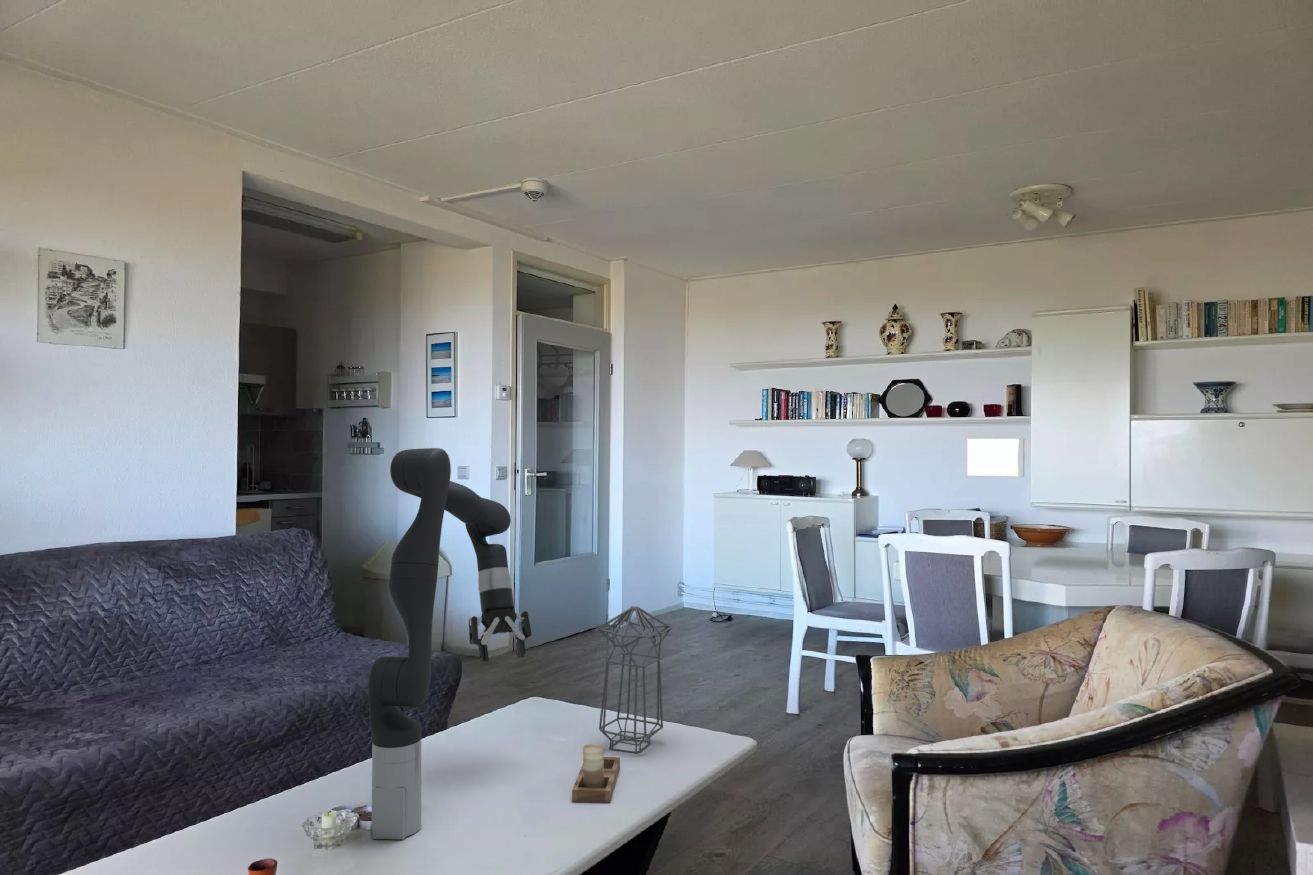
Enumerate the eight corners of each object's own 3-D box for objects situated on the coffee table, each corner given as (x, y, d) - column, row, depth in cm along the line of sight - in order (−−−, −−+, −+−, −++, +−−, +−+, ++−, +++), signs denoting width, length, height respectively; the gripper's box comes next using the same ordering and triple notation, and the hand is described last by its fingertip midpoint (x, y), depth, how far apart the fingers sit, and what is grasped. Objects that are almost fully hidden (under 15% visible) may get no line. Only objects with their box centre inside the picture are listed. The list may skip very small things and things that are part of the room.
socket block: (610, 802, 179) (610, 790, 179) (572, 802, 179) (572, 790, 179) (619, 768, 199) (619, 757, 199) (585, 767, 199) (585, 756, 199)
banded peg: (602, 798, 181) (602, 750, 181) (581, 797, 181) (581, 750, 182) (604, 790, 186) (604, 743, 186) (584, 789, 186) (584, 743, 186)
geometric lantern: (618, 733, 224) (621, 599, 225) (672, 743, 217) (676, 605, 218) (587, 751, 210) (591, 608, 211) (644, 762, 203) (648, 614, 204)
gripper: (471, 589, 193) (479, 662, 188) (529, 584, 201) (538, 654, 196) (460, 595, 199) (468, 666, 194) (517, 590, 207) (526, 658, 202)
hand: (503, 660), depth 195 cm, fingers open, 8 cm apart
